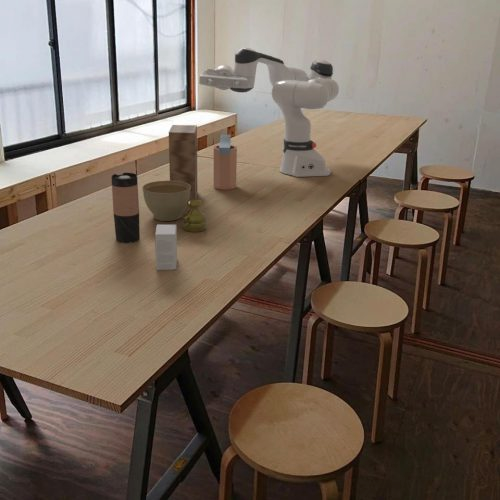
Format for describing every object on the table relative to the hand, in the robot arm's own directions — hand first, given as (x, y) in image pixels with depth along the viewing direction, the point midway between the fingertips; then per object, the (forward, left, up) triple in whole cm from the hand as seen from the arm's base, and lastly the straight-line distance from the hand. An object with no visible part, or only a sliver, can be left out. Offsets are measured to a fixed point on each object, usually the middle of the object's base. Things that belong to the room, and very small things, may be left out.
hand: (223, 84), depth 239 cm
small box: (+14, +96, -38) cm, 104 cm away
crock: (-1, +18, -38) cm, 42 cm away
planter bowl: (+18, +56, -38) cm, 70 cm away
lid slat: (-1, +17, -22) cm, 28 cm away
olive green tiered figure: (+8, +67, -38) cm, 77 cm away
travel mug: (+28, +77, -38) cm, 90 cm away
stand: (+14, +34, -38) cm, 52 cm away
